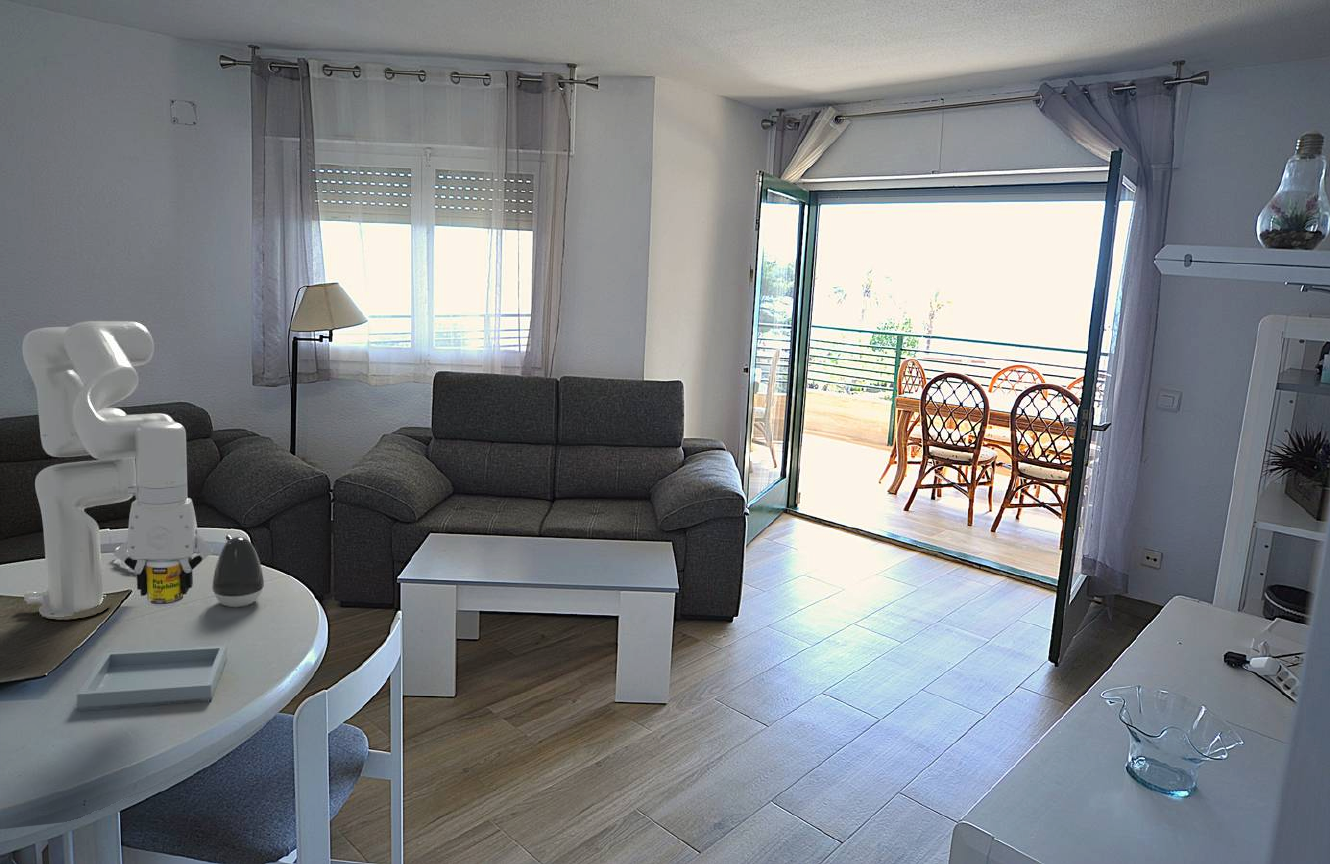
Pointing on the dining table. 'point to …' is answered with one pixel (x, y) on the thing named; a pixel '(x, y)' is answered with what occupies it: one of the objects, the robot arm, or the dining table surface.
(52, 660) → the dining table surface
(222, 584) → the black egg-shaped figure
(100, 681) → the tray
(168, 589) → the supplement bottle
